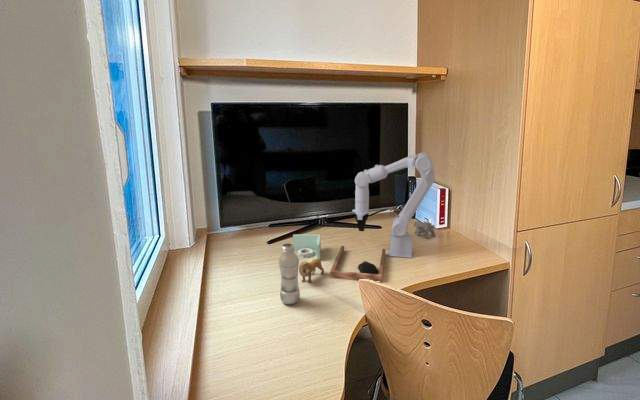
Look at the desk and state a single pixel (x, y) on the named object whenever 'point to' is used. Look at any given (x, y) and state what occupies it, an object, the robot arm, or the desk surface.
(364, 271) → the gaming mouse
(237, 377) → the desk surface
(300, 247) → the l-shaped corner panel
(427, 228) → the gray elephant figurine
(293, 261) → the plastic bottle
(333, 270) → the u-shaped frame
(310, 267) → the lion figurine
